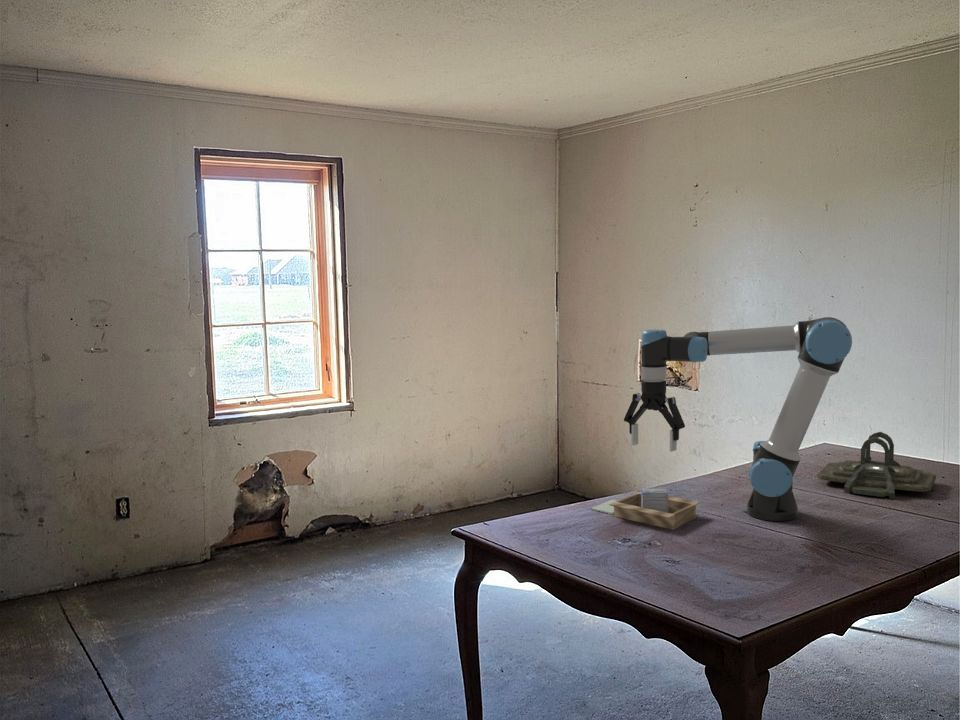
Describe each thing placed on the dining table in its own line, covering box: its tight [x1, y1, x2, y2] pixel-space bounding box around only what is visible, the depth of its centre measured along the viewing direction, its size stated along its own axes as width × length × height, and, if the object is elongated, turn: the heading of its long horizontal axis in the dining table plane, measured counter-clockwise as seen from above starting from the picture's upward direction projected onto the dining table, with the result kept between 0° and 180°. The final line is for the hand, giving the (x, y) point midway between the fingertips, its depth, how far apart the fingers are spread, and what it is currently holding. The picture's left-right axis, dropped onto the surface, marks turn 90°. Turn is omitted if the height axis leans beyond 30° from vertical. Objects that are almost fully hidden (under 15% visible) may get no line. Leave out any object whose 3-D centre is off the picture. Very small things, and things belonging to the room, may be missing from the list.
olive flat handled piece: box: [816, 431, 937, 500], centre depth 282 cm, size 35×34×18 cm
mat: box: [590, 499, 618, 515], centre depth 267 cm, size 8×12×1 cm, turn 137°
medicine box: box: [640, 488, 669, 513], centre depth 256 cm, size 8×4×9 cm, turn 84°
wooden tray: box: [609, 490, 701, 531], centre depth 256 cm, size 21×19×4 cm
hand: (653, 447), depth 253 cm, fingers open, 13 cm apart
